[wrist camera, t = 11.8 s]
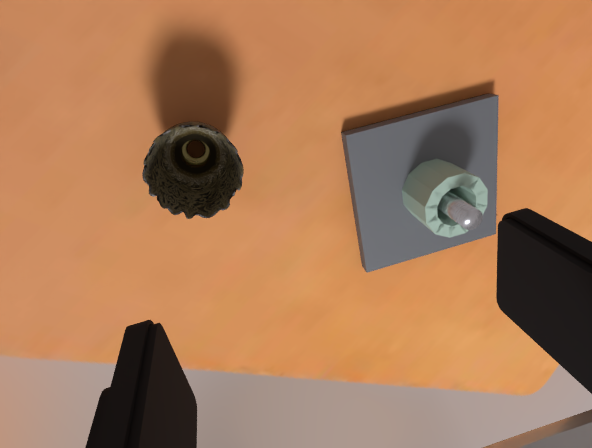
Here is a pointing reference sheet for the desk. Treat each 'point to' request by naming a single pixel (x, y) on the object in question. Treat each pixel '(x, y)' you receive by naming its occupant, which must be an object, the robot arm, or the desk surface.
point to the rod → (460, 211)
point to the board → (403, 160)
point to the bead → (441, 194)
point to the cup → (193, 170)
